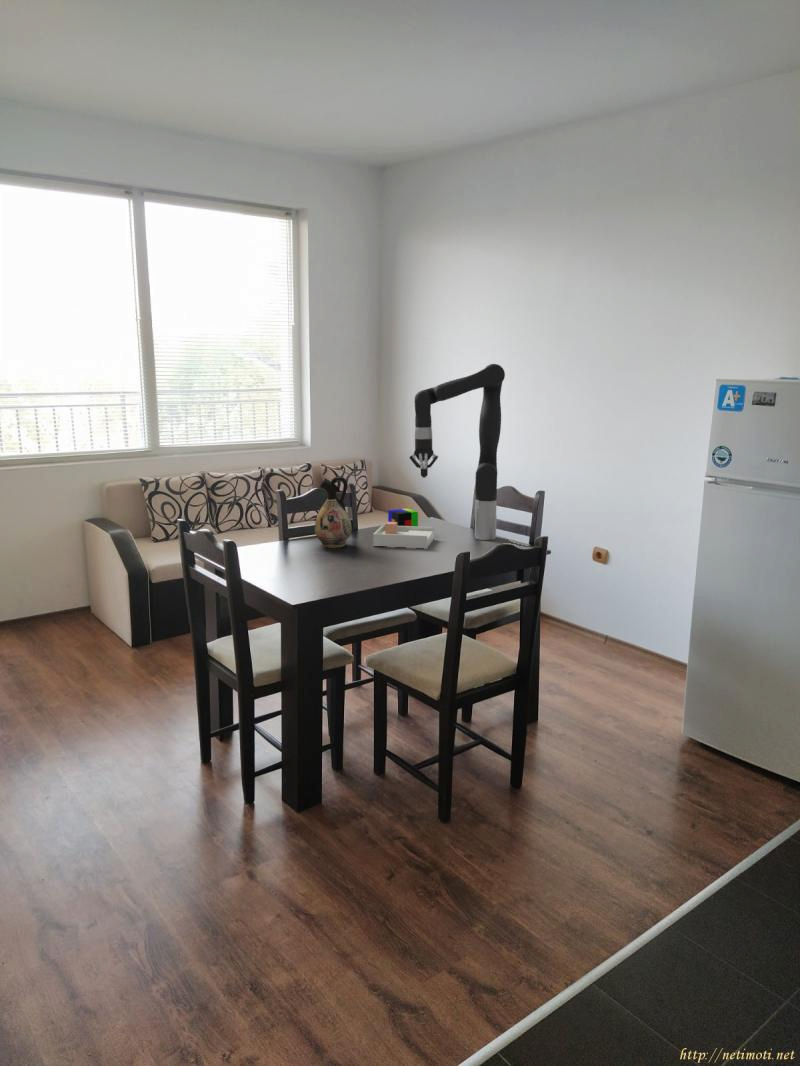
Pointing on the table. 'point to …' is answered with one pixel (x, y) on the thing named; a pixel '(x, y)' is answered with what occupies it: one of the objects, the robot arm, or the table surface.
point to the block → (390, 527)
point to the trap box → (404, 537)
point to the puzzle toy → (403, 517)
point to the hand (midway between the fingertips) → (424, 477)
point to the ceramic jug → (333, 516)
